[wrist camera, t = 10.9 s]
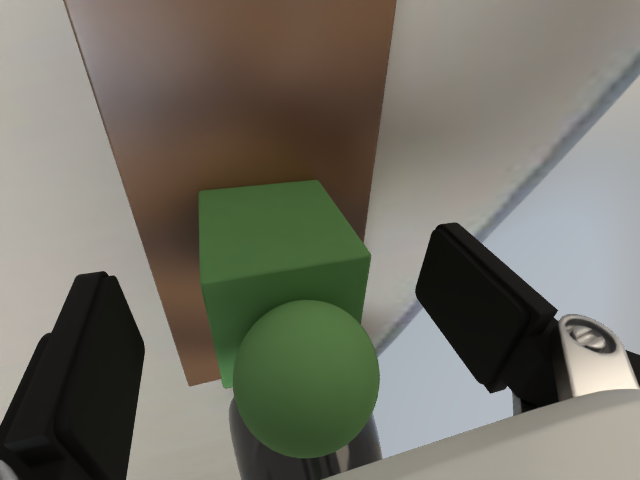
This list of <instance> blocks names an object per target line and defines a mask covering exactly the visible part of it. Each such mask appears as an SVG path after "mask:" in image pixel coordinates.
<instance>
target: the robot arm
mask: <svg viewBox="0 0 640 480" xmlns="http://www.w3.org/2000/svg"><path fill="white" fill-rule="evenodd" d="M415 293H416V297H417V299H418V300H419V302H420V303H421V304H422V306H423V307H424V309H425V310H426V311H427V313H428V314H429V315H430V316H431V318H432V320H433V321H434V322H435V324H436V325H437V326H438V328H439V329H440V331H441V332H442V333H443V335H444V336H445V337H446V339H447V340H448V342H449V343H450V344H451V346H452V347H453V349H454V350H455V351H456V353H457V354H458V355H459V357H460V358H461V360H462V361H463V362H464V364H465V365H466V366H467V368H468V369H469V370H470V372H471V373H472V375H473V376H474V377H475V379H476V380H477V381H478V382H479V383H480V384H484V386H485V387H486V389H487V390H488V391H489V393H494V392H497V391H501V390H504V389H506V387H507V386H508V387H509V388H510V389H511V391H512V393H513V416H512V417H509V418H506V419H503V420H500V421H497V422H494V423H491V424H488V425H485V426H482V427H479V428H476V429H473V430H469V431H466V432H463V433H460V434H457V435H454V436H451V437H448V438H445V439H442V440H439V441H436V442H433V443H431V444H427V445H424V446H421V447H418V448H415V449H412V450H409V451H406V452H403V453H400V454H397V455H394V456H391V457H388V458H385V459H382V460H379V461H376V462H373V463H370V464H367V465H364V466H361V467H358V468H355V469H352V470H349V471H346V472H343V473H340V474H337V475H334V476H331V477H328V478H325V479H322V480H640V355H638V354H635V353H632V352H629V351H627V350H625V348H624V346H623V344H622V342H621V341H620V339H619V337H618V336H617V335H616V334H615V333H614V332H613V331H612V330H610V329H609V328H608V327H606V326H605V325H603V324H601V323H600V322H598V321H596V320H594V319H591V318H589V317H586V316H582V315H577V314H568V315H565V316H562V318H561V319H560V320H559V321H557V320H556V319H555V318H554V316H555V314H556V313H557V311H558V310H557V309H556V308H555V307H553V306H552V305H551V304H550V303H549V302H548V301H547V300H546V299H544V298H543V297H542V296H541V295H540V294H539V293H538V292H536V291H535V290H534V289H533V288H532V287H531V286H529V285H528V284H527V283H526V282H525V281H524V280H523V279H522V278H520V277H519V276H518V275H517V274H516V273H515V272H513V271H512V270H511V269H510V268H509V267H508V266H507V265H505V264H504V263H503V262H502V261H501V260H500V259H499V258H497V257H496V256H495V255H494V254H493V253H492V252H491V251H489V250H488V249H487V248H486V247H485V246H484V245H483V244H481V243H480V242H479V241H478V240H477V239H476V238H475V237H473V236H472V235H471V234H470V233H469V232H468V231H467V230H465V229H464V228H463V227H462V226H461V225H460V224H458V223H447V224H440V225H438V226H437V227H436V229H435V230H433V232H432V234H431V237H430V241H429V244H428V247H427V251H426V254H425V258H424V261H423V265H422V268H421V271H420V275H419V278H418V282H417V285H416V289H415ZM144 354H145V347H144V342H143V339H142V337H141V334H140V332H139V330H138V327H137V325H136V323H135V320H134V318H133V315H132V313H131V311H130V308H129V306H128V304H127V301H126V299H125V296H124V294H123V292H122V289H121V287H120V285H119V282H118V280H117V278H116V277H115V276H108V274H107V273H106V272H104V271H102V272H95V273H87V274H80V275H78V276H76V278H75V280H74V282H73V285H72V287H71V289H70V291H69V294H68V296H67V298H66V301H65V303H64V305H63V308H62V310H61V312H60V314H59V317H58V319H57V321H56V324H55V326H54V328H53V331H52V333H47V334H45V335H44V336H43V337H42V338H41V340H40V341H39V343H38V345H37V347H36V349H35V351H34V354H33V356H32V358H31V360H30V362H29V365H28V367H27V369H26V371H25V373H24V375H23V378H22V380H21V382H20V384H19V386H18V388H17V391H16V393H15V395H14V397H13V399H12V402H11V404H10V406H9V408H8V410H7V412H6V415H5V417H4V419H3V421H2V423H1V425H0V480H126V476H127V469H128V462H129V456H130V449H131V442H132V435H133V429H134V422H135V415H136V409H137V402H138V395H139V388H140V382H141V375H142V368H143V362H144Z"/></svg>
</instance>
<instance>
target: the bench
mask: <svg viewBox="0 0 640 480" xmlns="http://www.w3.org/2000/svg"><path fill="white" fill-rule="evenodd" d="M63 1H64V4H65V7H66V10H67V14H68V17H69V20H70V23H71V26H72V29H73V32H74V35H75V38H76V41H77V44H78V47H79V50H80V53H81V57H82V60H83V63H84V66H85V69H86V72H87V75H88V78H89V81H90V84H91V87H92V90H93V93H94V96H95V100H96V103H97V106H98V109H99V112H100V115H101V118H102V121H103V124H104V127H105V130H106V133H107V136H108V139H109V143H110V146H111V149H112V152H113V155H114V158H115V161H116V164H117V167H118V170H119V173H120V176H121V179H122V182H123V186H124V189H125V192H126V195H127V198H128V201H129V204H130V207H131V210H132V213H133V216H134V219H135V222H136V225H137V229H138V232H139V235H140V238H141V241H142V244H143V247H144V250H145V253H146V256H147V259H148V262H149V265H150V268H151V272H152V275H153V278H154V281H155V284H156V287H157V290H158V293H159V296H160V299H161V302H162V305H163V308H164V311H165V315H166V318H167V321H168V324H169V327H170V330H171V333H172V336H173V339H174V342H175V345H176V348H177V351H178V354H179V358H180V361H181V364H182V367H183V370H184V373H185V376H186V379H187V382H188V385H189V386H194V385H198V384H202V383H206V382H210V381H214V380H219V379H221V375H220V370H219V366H218V361H217V357H216V353H215V348H214V344H213V339H212V335H211V330H210V326H209V321H208V317H207V312H206V308H205V304H204V299H203V295H202V290H201V286H200V257H199V200H198V193H199V191H202V190H213V189H223V188H234V187H245V186H255V185H266V184H276V183H287V182H298V181H308V180H318V181H319V182H320V183H321V185H322V186H323V188H324V189H325V190H326V192H327V193H328V195H329V196H330V198H331V199H332V200H333V202H334V203H335V205H336V206H337V207H338V209H339V210H340V212H341V213H342V214H343V216H344V217H345V219H346V220H347V221H348V223H349V224H350V226H351V227H352V228H353V230H354V231H355V233H356V234H357V235H358V237H359V238H360V240H361V241H362V242H363V243H364V235H365V228H366V221H367V213H368V206H369V199H370V191H371V184H372V177H373V169H374V162H375V155H376V147H377V140H378V133H379V125H380V118H381V110H382V103H383V96H384V88H385V81H386V74H387V66H388V59H389V52H390V44H391V37H392V30H393V22H394V15H395V8H396V0H63Z"/></svg>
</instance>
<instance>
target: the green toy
mask: <svg viewBox="0 0 640 480" xmlns="http://www.w3.org/2000/svg"><path fill="white" fill-rule="evenodd" d="M198 200H199V257H200V286H201V290H202V295H203V299H204V304H205V308H206V312H207V317H208V321H209V326H210V330H211V335H212V339H213V344H214V348H215V353H216V357H217V361H218V366H219V370H220V375H221V379H222V384H223V387H224V388H226V389H227V388H231V387H233V391H234V397H235V401H236V404H237V407H238V410H239V413H240V416H241V417H242V419H243V421H244V423H245V425H246V426H247V428H248V429H249V430H250V431H251V433H252V434H253V435H254V436H255V437H256V438H257V439H258V440H259V441H260V442H261V443H262V444H264V445H265V446H267V447H268V448H270V449H272V450H273V451H275V452H278V453H280V454H283V455H285V456H290V457H295V458H316V457H321V456H325V455H328V454H330V453H333V452H335V451H337V450H339V449H341V448H342V447H344V446H345V445H347V444H348V443H349V442H350V441H352V440H353V439H354V438H355V437H356V436H357V435H358V434H359V433H360V432H361V430H362V429H363V427H364V426H365V425H366V423H367V422H368V420H369V418H370V416H371V414H372V412H373V409H374V407H375V404H376V401H377V397H378V390H379V382H380V381H379V380H380V378H379V377H380V374H379V364H378V359H377V355H376V352H375V349H374V346H373V344H372V342H371V340H370V338H369V336H368V335H367V333H366V331H365V330H364V328H363V327H362V326H361V325H360V324H361V318H362V312H363V305H364V299H365V292H366V286H367V280H368V273H369V267H370V260H371V254H370V252H369V251H368V249H367V248H366V247H365V245H364V244H363V242H362V241H361V240H360V238H359V237H358V235H357V234H356V233H355V231H354V230H353V228H352V227H351V226H350V224H349V223H348V221H347V220H346V219H345V217H344V216H343V214H342V213H341V212H340V210H339V209H338V207H337V206H336V205H335V203H334V202H333V200H332V199H331V198H330V196H329V195H328V193H327V192H326V190H325V189H324V188H323V186H322V185H321V183H320V182H319V181H318V180H308V181H298V182H287V183H276V184H266V185H255V186H245V187H234V188H223V189H213V190H202V191H199V193H198Z"/></svg>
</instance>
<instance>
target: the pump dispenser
mask: <svg viewBox="0 0 640 480" xmlns="http://www.w3.org/2000/svg"><path fill="white" fill-rule="evenodd" d="M229 424H230V432H231V438H232V443H233V447H234V452H235V456H236V461H237V465H238V469H239V473H240V476H241V480H322V479H325V478H328V477H331V476H334V475H337V474H340V473H343V472H346V471H349V470H352V469H355V468H358V467H361V466H364V465H367V464H370V463H373V462H376V461H379V460H382V453H381V447H380V442H379V437H378V432H377V428H376V424H375V420H374V416H373V412H372V414H371V416H370V418H369V420H368V422H367V423H366V425H365V426H364V427H363V429H362V430H361V432H360V433H359V434H358V435H357V436H356V437H355V438H354V439H353V440H352V441H350V442H349V443H348V444H347V445H345V446H344V447H342V448H341V449H339V450H337V451H335V452H333V453H330V454H328V455H325V456H321V457H316V458H295V457H290V456H285V455H283V454H280V453H278V452H275V451H273V450H272V449H270V448H268V447H267V446H265V445H264V444H262V443H261V442H260V441H259V440H258V439H257V438H256V437H255V436H254V435H253V434H252V433H251V431H250V430H249V429H248V428H247V426H246V425H245V423H244V421H243V419H242V417H241V416H240V413H239V410H238V407H237V404H236V401H235V397H233V399H232V401H231V404H230V408H229Z"/></svg>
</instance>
